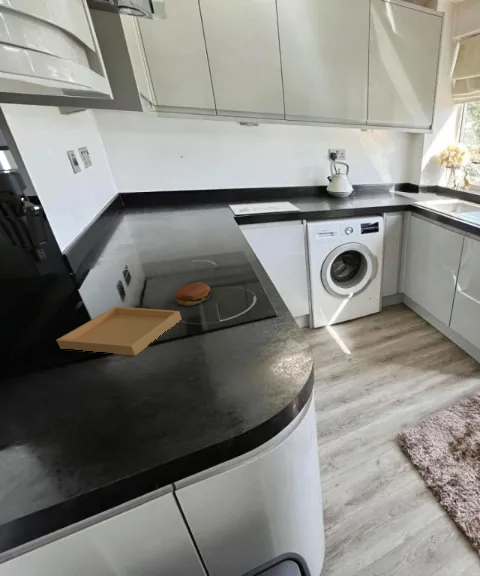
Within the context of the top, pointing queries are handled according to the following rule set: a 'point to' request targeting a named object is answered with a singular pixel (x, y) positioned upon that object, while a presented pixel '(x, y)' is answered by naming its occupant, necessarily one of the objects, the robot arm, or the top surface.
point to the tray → (120, 330)
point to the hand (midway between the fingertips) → (44, 273)
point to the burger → (193, 294)
